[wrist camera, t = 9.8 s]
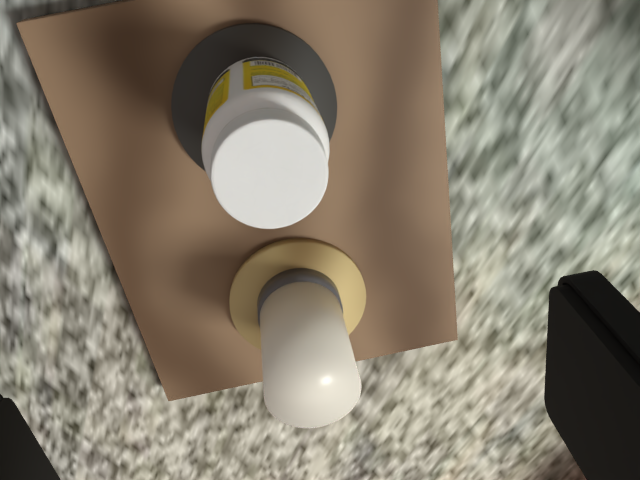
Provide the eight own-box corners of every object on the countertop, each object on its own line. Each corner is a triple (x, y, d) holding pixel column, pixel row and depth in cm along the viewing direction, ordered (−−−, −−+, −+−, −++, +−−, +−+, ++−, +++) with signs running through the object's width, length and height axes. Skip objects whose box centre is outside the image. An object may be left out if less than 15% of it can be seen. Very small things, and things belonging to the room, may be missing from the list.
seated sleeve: (333, 260, 31) (356, 342, 25) (345, 327, 33) (369, 417, 27) (248, 277, 31) (251, 364, 25) (266, 344, 33) (273, 438, 27)
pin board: (425, -58, 26) (438, -57, 24) (451, 327, 37) (460, 345, 35) (25, 19, 25) (10, 25, 24) (170, 387, 36) (167, 408, 34)
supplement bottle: (236, 172, 28) (235, 260, 21) (188, 82, 26) (168, 144, 18) (327, 131, 28) (360, 207, 20) (287, 37, 25) (307, 82, 18)
